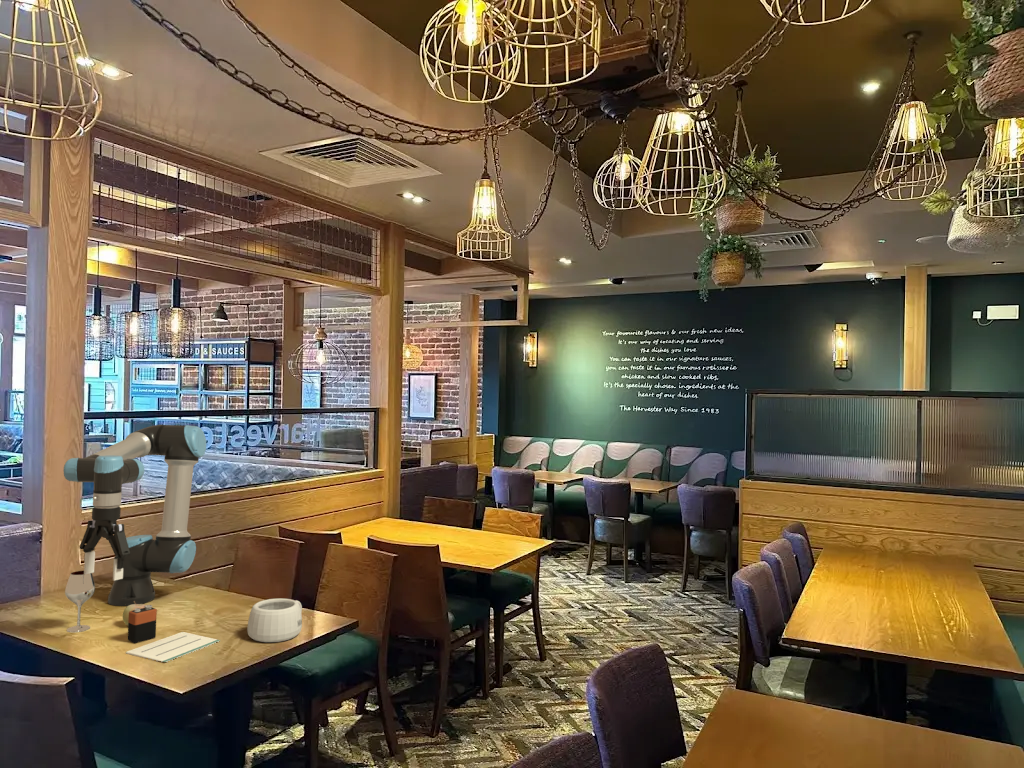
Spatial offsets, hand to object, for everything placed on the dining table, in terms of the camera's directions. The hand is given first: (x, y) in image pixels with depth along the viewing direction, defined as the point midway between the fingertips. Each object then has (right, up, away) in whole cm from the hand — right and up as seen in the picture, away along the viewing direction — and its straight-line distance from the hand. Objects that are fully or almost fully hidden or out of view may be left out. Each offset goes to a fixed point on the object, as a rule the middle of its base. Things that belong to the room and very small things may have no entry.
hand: (103, 576), depth 209 cm
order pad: (+23, -21, -2) cm, 31 cm away
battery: (+10, -21, +3) cm, 23 cm away
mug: (+49, -22, +13) cm, 56 cm away
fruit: (+1, -21, +16) cm, 26 cm away
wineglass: (-14, -20, +11) cm, 27 cm away
